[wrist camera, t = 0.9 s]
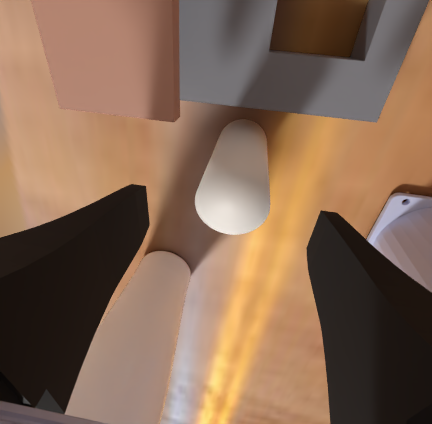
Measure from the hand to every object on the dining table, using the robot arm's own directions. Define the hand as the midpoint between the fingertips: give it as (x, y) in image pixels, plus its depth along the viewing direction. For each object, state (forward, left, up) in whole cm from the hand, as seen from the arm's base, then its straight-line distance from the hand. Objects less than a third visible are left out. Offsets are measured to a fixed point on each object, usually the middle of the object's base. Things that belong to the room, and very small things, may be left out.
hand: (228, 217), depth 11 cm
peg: (0, 0, -9) cm, 9 cm away
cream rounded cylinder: (+6, +14, -9) cm, 18 cm away
